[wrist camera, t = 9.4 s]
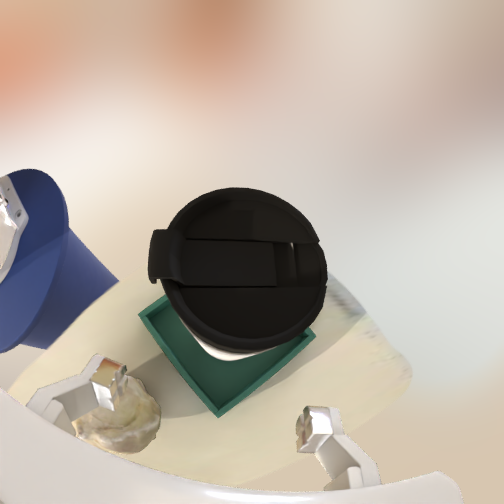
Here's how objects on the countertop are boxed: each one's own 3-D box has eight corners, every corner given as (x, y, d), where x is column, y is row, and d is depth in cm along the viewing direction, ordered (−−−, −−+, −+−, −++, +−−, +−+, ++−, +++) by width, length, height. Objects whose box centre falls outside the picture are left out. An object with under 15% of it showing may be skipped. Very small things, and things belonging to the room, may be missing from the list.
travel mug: (193, 301, 28) (156, 176, 10) (256, 300, 29) (325, 180, 11) (194, 361, 25) (140, 350, 7) (260, 359, 26) (353, 341, 8)
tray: (143, 318, 27) (137, 314, 25) (235, 252, 31) (237, 243, 29) (217, 414, 24) (217, 418, 22) (309, 338, 28) (316, 336, 26)
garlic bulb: (169, 407, 25) (192, 439, 17) (118, 450, 21) (122, 495, 12) (110, 343, 25) (103, 351, 16) (58, 388, 20) (32, 413, 12)
